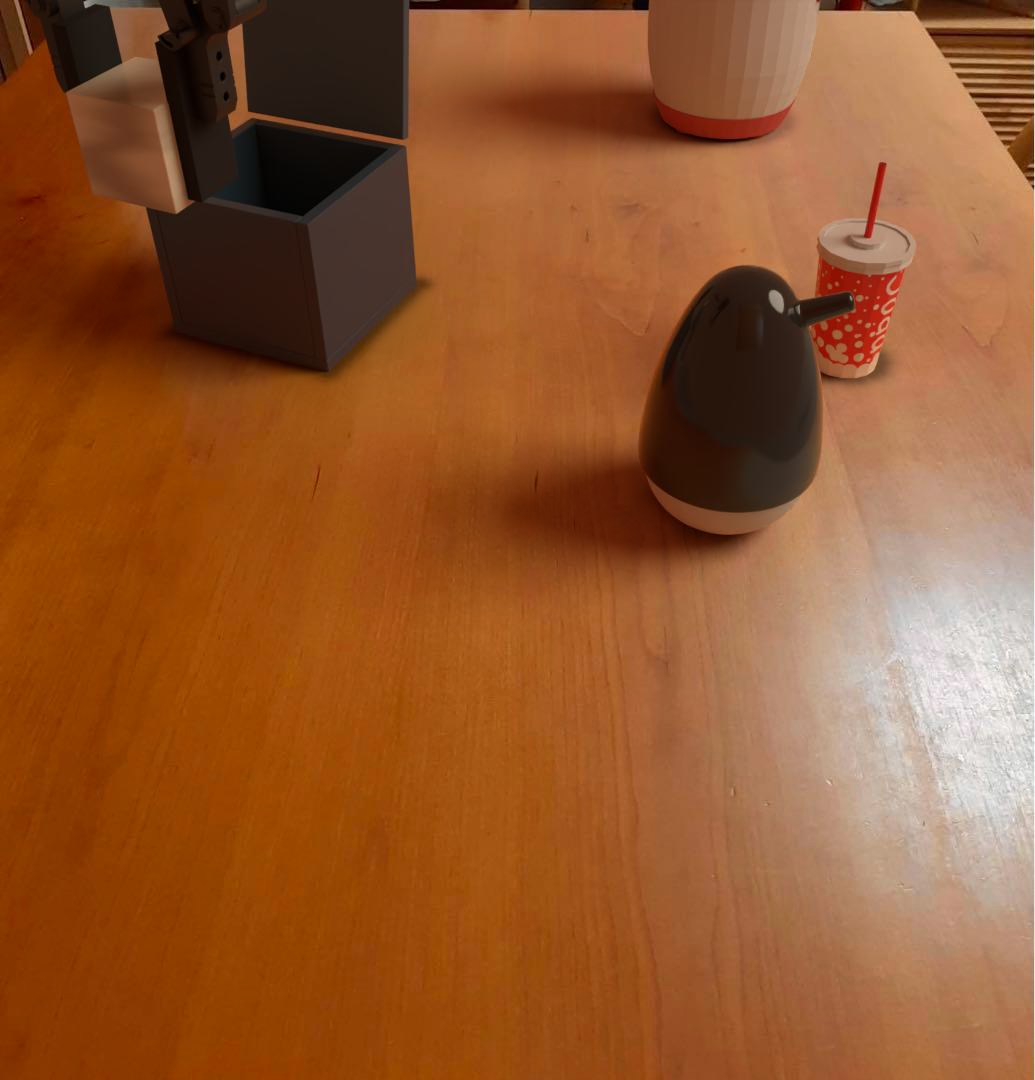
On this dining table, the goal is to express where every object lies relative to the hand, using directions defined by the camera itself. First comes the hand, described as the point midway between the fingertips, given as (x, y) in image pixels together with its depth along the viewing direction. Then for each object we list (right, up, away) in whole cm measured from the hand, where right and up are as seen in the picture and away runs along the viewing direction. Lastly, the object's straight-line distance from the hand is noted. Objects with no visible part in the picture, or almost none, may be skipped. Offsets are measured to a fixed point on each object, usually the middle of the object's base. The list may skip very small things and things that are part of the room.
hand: (164, 176), depth 51 cm
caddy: (-1, +1, +34) cm, 35 cm away
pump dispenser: (+28, -14, +18) cm, 36 cm away
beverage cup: (+38, -4, +29) cm, 48 cm away
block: (0, 0, 0) cm, 0 cm away
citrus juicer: (+36, +24, +60) cm, 74 cm away
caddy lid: (+2, +19, +27) cm, 33 cm away
